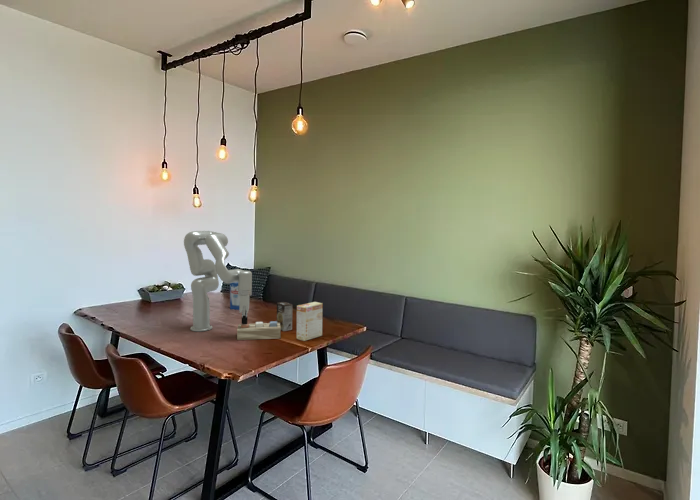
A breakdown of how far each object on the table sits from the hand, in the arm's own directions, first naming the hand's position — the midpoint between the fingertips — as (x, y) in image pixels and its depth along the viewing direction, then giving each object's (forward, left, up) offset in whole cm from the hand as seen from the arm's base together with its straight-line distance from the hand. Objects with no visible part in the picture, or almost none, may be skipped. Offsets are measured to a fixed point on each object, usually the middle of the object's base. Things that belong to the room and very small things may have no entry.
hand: (244, 323), depth 233 cm
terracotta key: (0, 0, -5) cm, 5 cm away
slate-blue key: (0, +16, -4) cm, 17 cm away
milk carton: (-74, -9, -8) cm, 75 cm away
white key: (0, +8, -4) cm, 9 cm away
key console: (0, +8, -8) cm, 11 cm away
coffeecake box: (+6, +37, -8) cm, 38 cm away
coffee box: (-14, +23, -8) cm, 28 cm away
